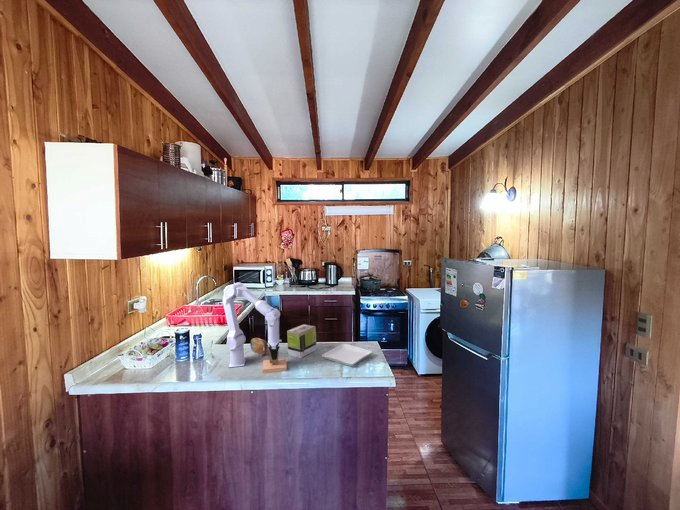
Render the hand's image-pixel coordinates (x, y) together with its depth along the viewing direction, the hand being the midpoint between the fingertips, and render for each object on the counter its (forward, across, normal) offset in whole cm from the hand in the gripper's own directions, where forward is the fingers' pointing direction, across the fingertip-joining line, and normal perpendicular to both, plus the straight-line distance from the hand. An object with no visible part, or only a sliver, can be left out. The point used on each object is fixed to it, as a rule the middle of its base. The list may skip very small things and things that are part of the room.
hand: (274, 357), depth 171 cm
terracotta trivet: (+6, 0, 0) cm, 6 cm away
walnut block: (+2, 0, 0) cm, 2 cm away
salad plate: (+6, +3, -40) cm, 41 cm away
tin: (+6, +23, +9) cm, 25 cm away
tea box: (+6, +17, -16) cm, 24 cm away
